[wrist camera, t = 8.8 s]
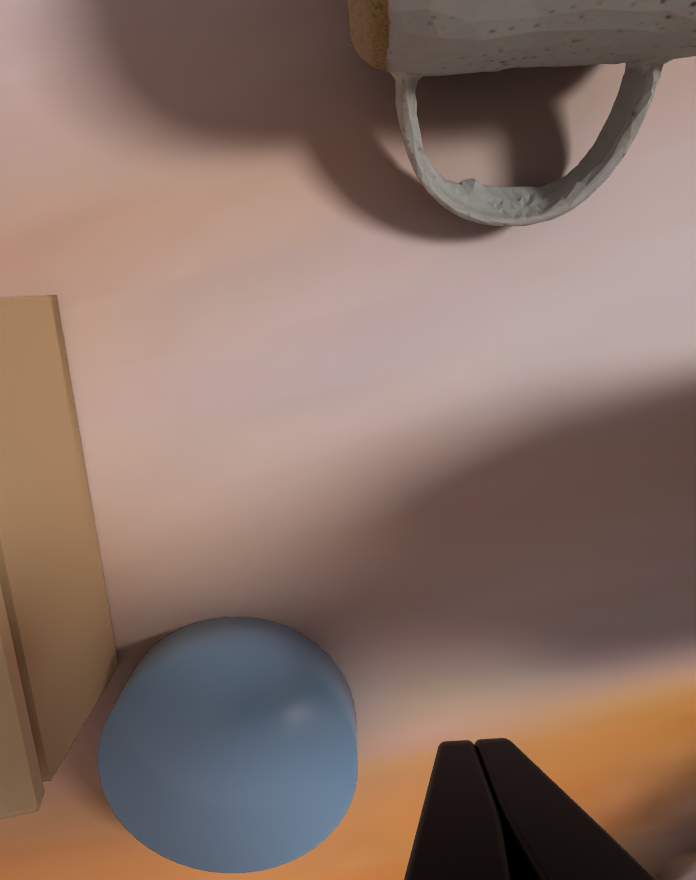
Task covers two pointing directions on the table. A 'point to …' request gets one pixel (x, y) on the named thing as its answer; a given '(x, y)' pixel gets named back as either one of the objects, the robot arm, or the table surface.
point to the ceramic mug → (516, 46)
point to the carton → (48, 533)
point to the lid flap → (15, 735)
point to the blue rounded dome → (231, 746)
